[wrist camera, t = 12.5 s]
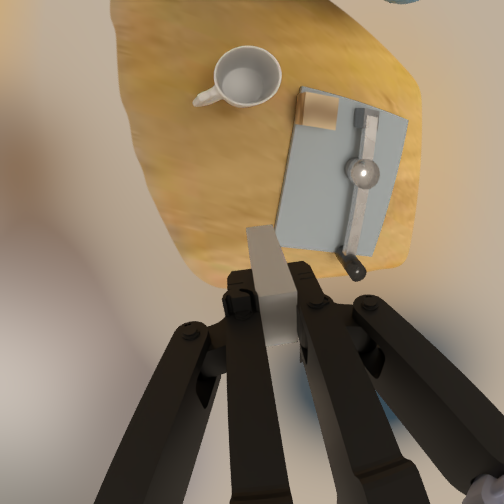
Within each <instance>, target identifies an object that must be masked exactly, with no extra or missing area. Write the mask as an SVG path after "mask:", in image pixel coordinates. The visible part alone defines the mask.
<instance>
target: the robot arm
mask: <svg viewBox="0 0 504 504" xmlns="http://www.w3.org/2000/svg"><path fill="white" fill-rule="evenodd" d="M385 1H387V2H389V3H397V4H408V3H412V2H416V1H419V0H385ZM246 232H247V240H248V248H249V255H250V263H251V269H246V270H239V271H232V272H231V273H230V275H229V276H228V278H227V285H228V286H227V290H228V291H227V292H226V293H225V294H224V295H223V298H222V302H223V307H224V311H225V318H224V319H223V320H221V321H220V322H219V323H216V324H214V325H211V326H208V327H207V326H206V325H205V324H203V323H202V322H197V321H192V322H188V323H184V324H182V325H181V326H179V327H178V328H177V329H176V331H175V332H174V334H173V336H172V338H171V340H170V342H169V344H168V346H167V348H166V350H165V352H164V354H163V356H162V358H161V359H160V362H159V364H158V365H157V368H156V370H155V372H154V374H153V376H152V378H151V380H150V382H149V384H148V386H147V388H146V390H145V392H144V394H143V396H142V398H141V400H140V402H139V404H138V406H137V408H136V411H135V413H134V415H133V417H132V419H131V421H130V424H129V425H128V427H127V430H126V432H125V434H124V436H123V438H122V441H121V443H120V445H119V447H118V449H117V452H116V454H115V456H114V458H113V460H112V462H111V465H110V467H109V469H108V472H107V474H106V476H105V478H104V481H103V483H102V485H101V488H100V490H99V492H98V495H97V497H96V499H95V502H94V504H183V501H184V497H185V494H186V491H187V488H188V484H189V481H190V478H191V475H192V471H193V468H194V465H195V461H196V458H197V455H198V452H199V449H200V445H201V442H202V439H203V435H204V432H205V429H206V425H207V422H208V419H209V416H210V412H211V409H212V406H213V402H214V399H215V396H216V392H217V389H218V386H219V382H220V379H221V374H224V373H227V401H228V426H229V427H228V428H229V448H230V469H231V485H232V497H231V499H230V504H293V500H292V496H291V492H290V487H289V481H288V475H287V470H286V463H285V458H284V452H283V446H282V440H281V434H280V428H279V422H278V416H277V410H276V404H275V398H274V392H273V386H272V381H271V374H270V368H269V363H268V356H267V350H266V347H269V346H276V345H283V344H289V343H295V342H298V337H299V340H300V363H301V362H303V364H304V367H305V371H306V375H307V378H308V382H309V386H310V389H311V393H312V397H313V401H314V404H315V408H316V412H317V416H318V420H319V423H320V427H321V431H322V435H323V439H324V443H325V447H326V451H327V455H328V459H329V463H330V467H331V471H332V475H333V478H334V483H335V487H336V492H337V504H430V502H429V499H428V496H427V493H426V490H425V487H424V485H423V482H422V479H421V477H420V474H419V471H418V469H417V467H416V465H415V464H414V463H413V462H412V461H411V460H408V459H406V458H404V457H403V456H402V454H401V452H400V449H399V447H398V444H397V442H396V439H395V437H394V434H393V432H392V429H391V427H390V424H389V422H388V419H387V417H386V415H385V412H384V410H383V407H382V405H381V403H380V401H379V398H378V396H377V394H376V391H377V392H378V394H379V395H380V396H381V397H382V399H383V400H384V401H385V402H386V403H387V405H388V406H389V407H390V409H391V410H392V411H393V412H394V414H395V415H396V416H397V417H398V419H399V420H400V421H401V422H402V424H403V425H404V426H405V428H406V429H407V430H408V431H409V433H410V434H411V435H412V436H413V438H414V439H415V440H416V442H417V443H418V444H419V445H420V447H421V448H422V449H423V450H424V452H425V453H426V454H427V455H428V457H429V458H430V459H431V461H432V462H433V463H434V464H435V466H436V467H437V468H438V470H439V471H440V472H441V473H442V475H443V476H444V477H445V478H446V479H447V480H448V481H449V483H450V484H451V485H452V486H454V487H455V488H456V489H457V490H458V491H460V492H462V493H463V494H465V495H466V497H465V499H464V500H463V502H462V504H504V415H503V414H502V413H501V412H500V411H499V410H498V409H497V408H496V407H495V406H494V405H493V404H492V403H491V401H490V400H489V399H488V398H487V397H486V396H485V395H484V394H483V393H482V392H481V391H480V390H479V389H478V388H477V387H476V386H475V385H474V384H473V383H472V382H471V381H470V380H469V379H468V378H467V377H466V376H465V375H464V374H463V373H462V372H461V371H460V370H459V369H458V368H457V367H456V366H454V364H453V363H451V362H450V361H449V360H448V359H447V358H446V357H445V356H444V355H443V354H442V353H441V352H440V351H439V350H438V349H437V348H436V347H435V346H433V345H432V344H431V343H430V342H429V341H428V340H427V339H426V338H425V337H424V336H423V335H422V334H421V333H420V332H418V331H417V330H416V329H415V328H414V327H413V326H412V325H411V324H410V323H409V322H407V321H406V320H405V319H404V318H403V317H402V316H401V315H399V314H398V313H397V312H396V311H395V310H394V309H393V308H392V307H390V306H389V305H388V304H387V303H386V302H385V301H384V300H382V299H381V298H379V297H378V296H374V295H362V296H359V297H357V298H356V299H355V301H354V302H353V305H348V304H337V303H334V302H333V300H332V299H331V298H330V297H329V296H327V295H325V294H324V293H323V291H322V289H321V287H320V285H319V283H318V281H317V279H316V278H315V275H314V273H313V271H312V269H311V267H310V265H308V264H307V263H305V262H304V261H299V262H292V263H287V262H286V260H285V257H284V254H283V252H282V249H281V247H280V244H279V241H278V239H277V236H276V233H275V231H274V228H273V226H272V224H271V225H264V226H256V227H248V228H246ZM375 390H376V391H375Z"/></svg>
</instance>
